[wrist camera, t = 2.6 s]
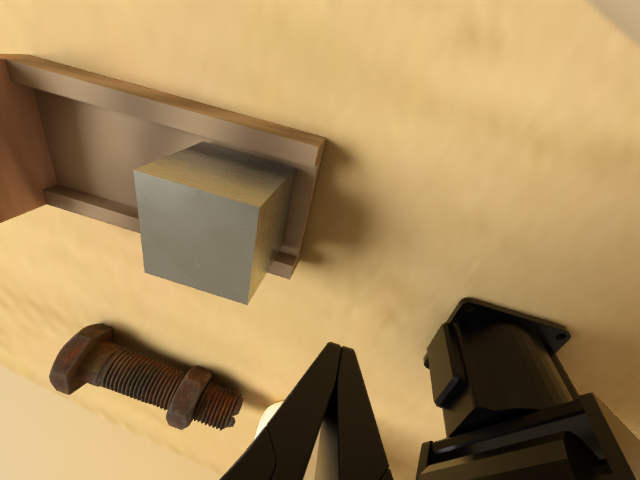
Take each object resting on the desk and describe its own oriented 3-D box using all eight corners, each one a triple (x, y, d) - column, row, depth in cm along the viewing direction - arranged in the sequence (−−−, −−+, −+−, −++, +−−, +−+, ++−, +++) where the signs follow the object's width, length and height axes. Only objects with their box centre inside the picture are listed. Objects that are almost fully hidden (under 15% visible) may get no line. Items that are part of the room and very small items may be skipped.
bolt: (251, 380, 31) (109, 326, 30) (252, 379, 26) (84, 315, 26) (225, 446, 28) (67, 388, 28) (220, 458, 24) (32, 388, 23)
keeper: (295, 167, 15) (259, 207, 11) (281, 248, 18) (247, 305, 14) (203, 141, 16) (133, 169, 11) (202, 223, 18) (144, 272, 14)
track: (326, 138, 16) (302, 165, 11) (298, 260, 20) (273, 314, 16) (27, 54, 17) (-98, 51, 12) (61, 188, 21) (-24, 220, 17)
